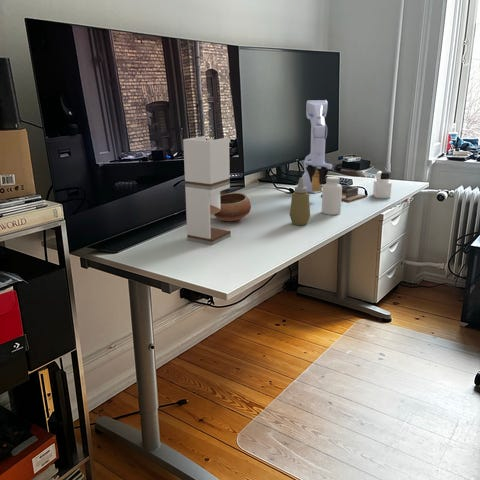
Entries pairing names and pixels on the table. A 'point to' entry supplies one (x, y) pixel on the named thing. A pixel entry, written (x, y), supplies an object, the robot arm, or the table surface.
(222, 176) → the white tower
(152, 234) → the table surface
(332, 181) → the pill bottle
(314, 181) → the amber bottle
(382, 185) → the medicine bottle
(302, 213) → the squeeze bottle
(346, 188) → the bottle rest
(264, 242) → the table surface
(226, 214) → the bowl
